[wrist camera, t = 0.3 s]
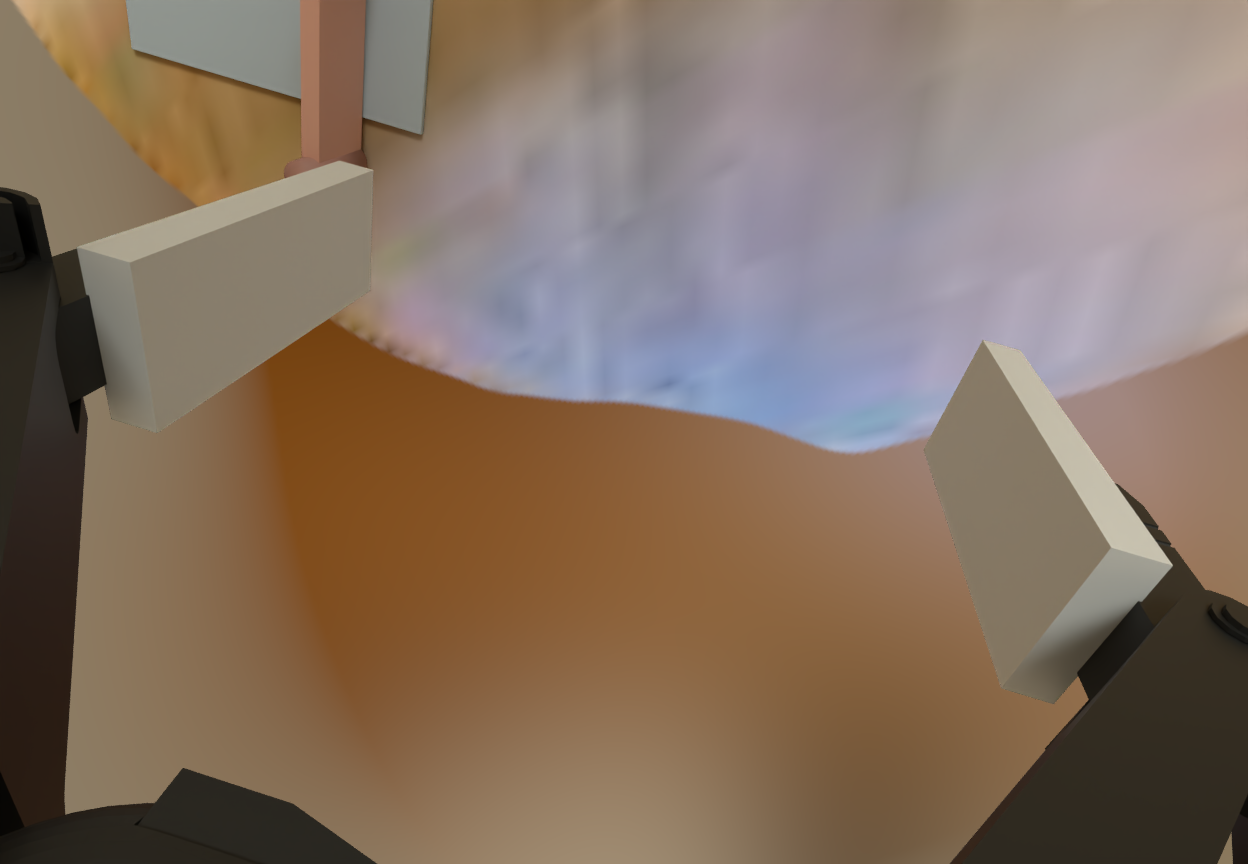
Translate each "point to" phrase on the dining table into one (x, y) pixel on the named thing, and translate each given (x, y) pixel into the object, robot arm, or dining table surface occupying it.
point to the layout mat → (292, 47)
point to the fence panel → (331, 83)
